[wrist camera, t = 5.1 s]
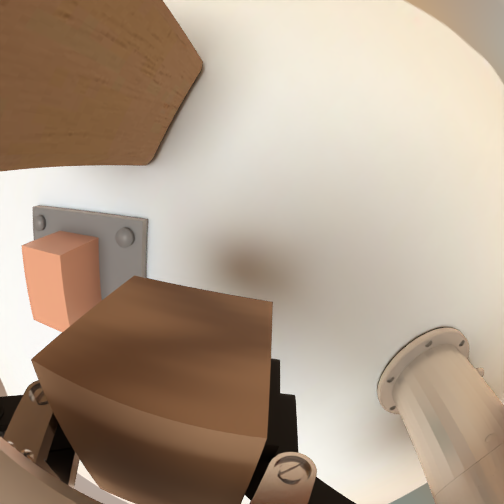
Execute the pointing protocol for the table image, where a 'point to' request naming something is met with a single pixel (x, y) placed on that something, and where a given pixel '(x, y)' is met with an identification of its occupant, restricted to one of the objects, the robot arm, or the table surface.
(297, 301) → the table surface
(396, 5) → the table surface
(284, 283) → the table surface
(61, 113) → the block
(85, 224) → the baseplate
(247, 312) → the walnut brick
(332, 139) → the table surface
